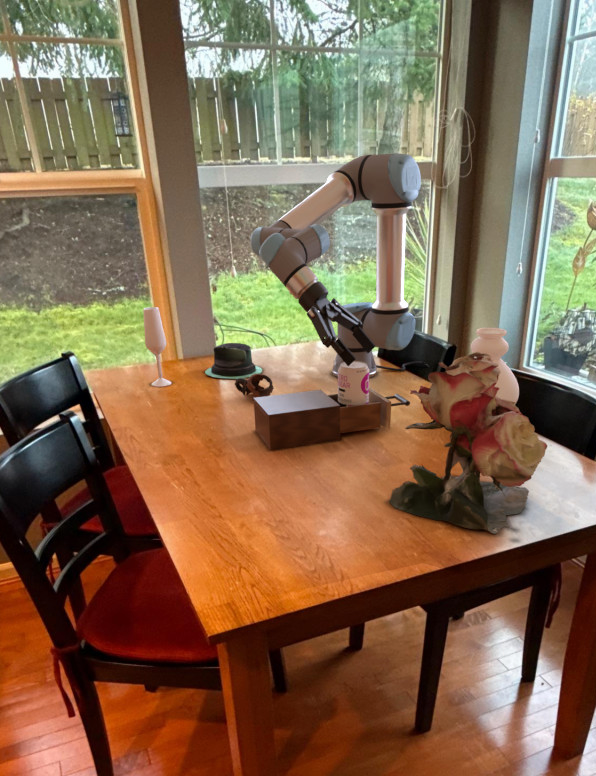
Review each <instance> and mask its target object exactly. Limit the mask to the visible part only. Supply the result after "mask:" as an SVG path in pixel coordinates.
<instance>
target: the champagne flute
mask: <svg viewBox="0 0 596 776" xmlns="http://www.w3.org/2000/svg"><path fill="white" fill-rule="evenodd" d="M159 308H160V307H156V306H148V307H144V308H143V313H142V314H143V328H144V345H145V347H146V349H147V350H148V351H150V352H151V354H154V355H155V359H156V360H155V361H156V367H157V374H158V378H157V379H156V380H155V381H153V382H151V384H150V385H151V386H152V387H168V386H170V385H172V381H170V380H169V379H166V378H164V377H163V372H162V371H163V370H162V365H161V357H160V355H161V354H162V353H163V351H164V350H165V349H166V347H167V338H166V334H165V330H164V326H163V321H162V317H161V312H160V309H159Z"/></svg>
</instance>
